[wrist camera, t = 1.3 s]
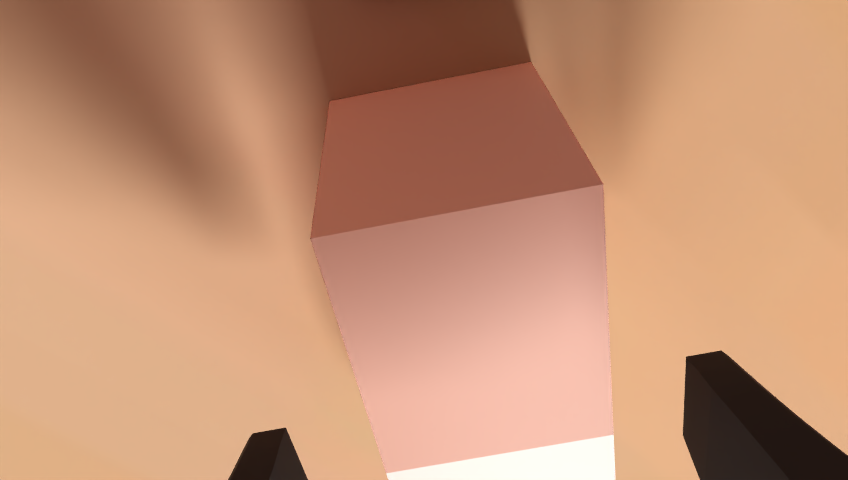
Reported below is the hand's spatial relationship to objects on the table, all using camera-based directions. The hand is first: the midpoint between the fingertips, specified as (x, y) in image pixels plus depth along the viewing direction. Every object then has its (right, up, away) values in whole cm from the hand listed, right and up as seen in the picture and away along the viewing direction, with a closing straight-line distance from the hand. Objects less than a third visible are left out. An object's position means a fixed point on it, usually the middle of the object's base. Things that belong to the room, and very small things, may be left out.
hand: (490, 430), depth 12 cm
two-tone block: (0, +2, +4) cm, 5 cm away
